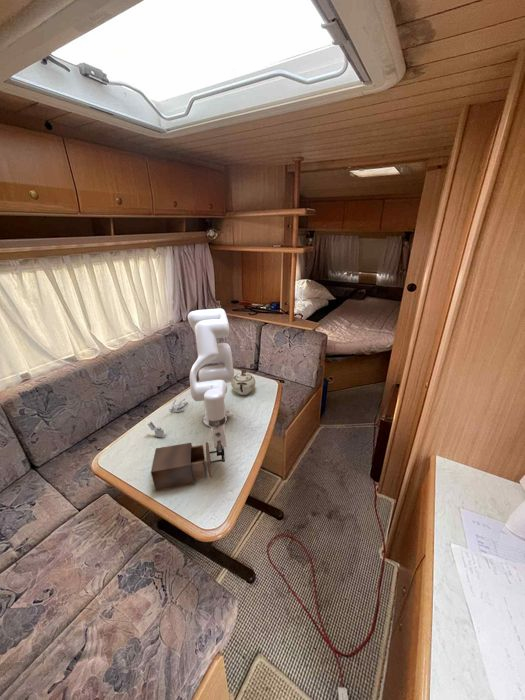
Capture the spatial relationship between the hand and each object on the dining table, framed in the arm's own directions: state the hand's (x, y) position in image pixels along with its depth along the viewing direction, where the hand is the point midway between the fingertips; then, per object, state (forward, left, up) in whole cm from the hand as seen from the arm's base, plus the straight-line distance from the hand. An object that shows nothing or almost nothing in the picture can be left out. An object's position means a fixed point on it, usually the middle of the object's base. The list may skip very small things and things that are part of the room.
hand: (220, 454), depth 115 cm
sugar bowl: (-18, -57, -7) cm, 60 cm away
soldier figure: (+21, -48, -7) cm, 53 cm away
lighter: (+30, -27, -7) cm, 41 cm away
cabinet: (+19, 0, -7) cm, 20 cm away
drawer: (+8, 0, -6) cm, 10 cm away
